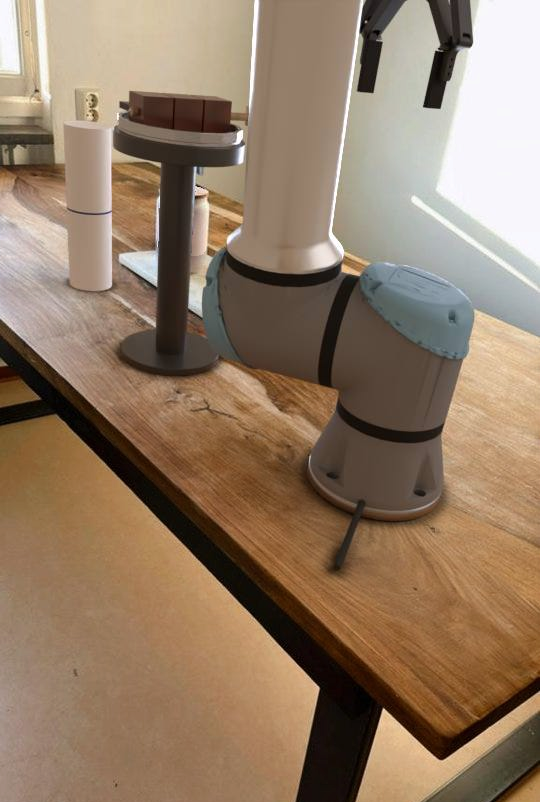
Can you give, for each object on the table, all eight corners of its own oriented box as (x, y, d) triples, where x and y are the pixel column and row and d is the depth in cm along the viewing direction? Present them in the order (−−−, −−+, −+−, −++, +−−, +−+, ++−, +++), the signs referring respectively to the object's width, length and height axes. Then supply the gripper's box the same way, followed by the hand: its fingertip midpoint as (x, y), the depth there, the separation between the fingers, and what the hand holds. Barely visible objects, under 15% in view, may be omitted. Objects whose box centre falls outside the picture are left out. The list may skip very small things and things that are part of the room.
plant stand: (169, 310, 114) (178, 103, 97) (246, 368, 100) (272, 136, 83) (76, 322, 106) (68, 97, 89) (145, 387, 91) (150, 132, 74)
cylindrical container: (70, 290, 116) (63, 126, 103) (68, 276, 122) (62, 118, 108) (113, 291, 119) (113, 130, 105) (110, 277, 124) (109, 123, 110)
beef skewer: (292, 132, 95) (296, 101, 93) (308, 138, 93) (313, 106, 91) (123, 126, 82) (124, 90, 80) (138, 132, 79) (138, 95, 77)
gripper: (536, -89, 80) (482, 116, 91) (388, -87, 96) (358, 88, 107) (494, -103, 76) (443, 114, 87) (347, -98, 92) (321, 84, 103)
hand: (396, 100), depth 97 cm, fingers open, 13 cm apart
